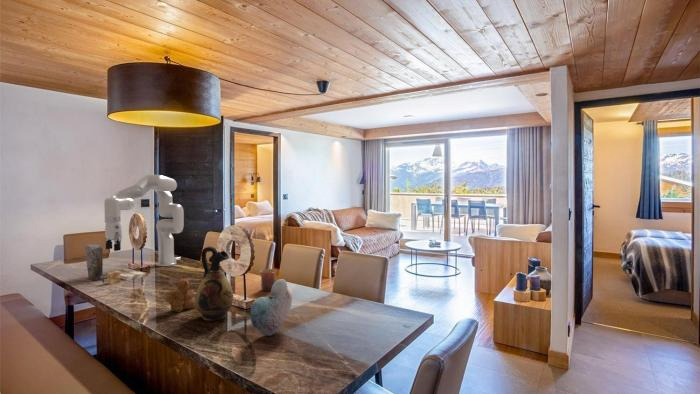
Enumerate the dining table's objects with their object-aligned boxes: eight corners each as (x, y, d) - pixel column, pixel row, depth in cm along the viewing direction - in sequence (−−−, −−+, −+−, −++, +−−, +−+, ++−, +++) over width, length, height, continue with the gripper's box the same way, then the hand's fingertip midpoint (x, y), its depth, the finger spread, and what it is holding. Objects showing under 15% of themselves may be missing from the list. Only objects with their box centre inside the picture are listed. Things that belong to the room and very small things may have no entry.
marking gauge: (117, 281, 209) (116, 271, 209) (120, 282, 207) (120, 271, 206) (99, 284, 201) (99, 274, 201) (102, 286, 199) (102, 275, 199)
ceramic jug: (240, 311, 160) (239, 245, 159) (220, 325, 145) (219, 251, 144) (206, 308, 164) (205, 243, 162) (183, 321, 149) (182, 249, 147)
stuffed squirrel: (200, 304, 170) (200, 276, 169) (181, 315, 156) (181, 285, 155) (181, 303, 171) (181, 275, 171) (161, 313, 157) (160, 284, 157)
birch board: (127, 271, 232) (127, 268, 232) (146, 276, 220) (146, 272, 220) (109, 275, 222) (108, 271, 222) (126, 280, 211) (126, 276, 210)
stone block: (84, 278, 216) (83, 244, 215) (97, 275, 221) (97, 243, 220) (92, 281, 208) (91, 247, 207) (106, 279, 213) (105, 245, 213)
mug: (272, 292, 188) (272, 273, 187) (256, 291, 189) (256, 272, 189) (281, 286, 199) (281, 267, 199) (266, 285, 201) (266, 267, 201)
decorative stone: (262, 347, 125) (261, 290, 125) (243, 341, 130) (242, 287, 129) (298, 326, 144) (298, 277, 143) (280, 322, 148) (280, 274, 147)
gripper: (127, 220, 203) (127, 250, 203) (112, 218, 212) (113, 247, 213) (112, 221, 197) (113, 252, 197) (98, 219, 206) (98, 249, 207)
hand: (113, 249), depth 205 cm, fingers open, 9 cm apart
